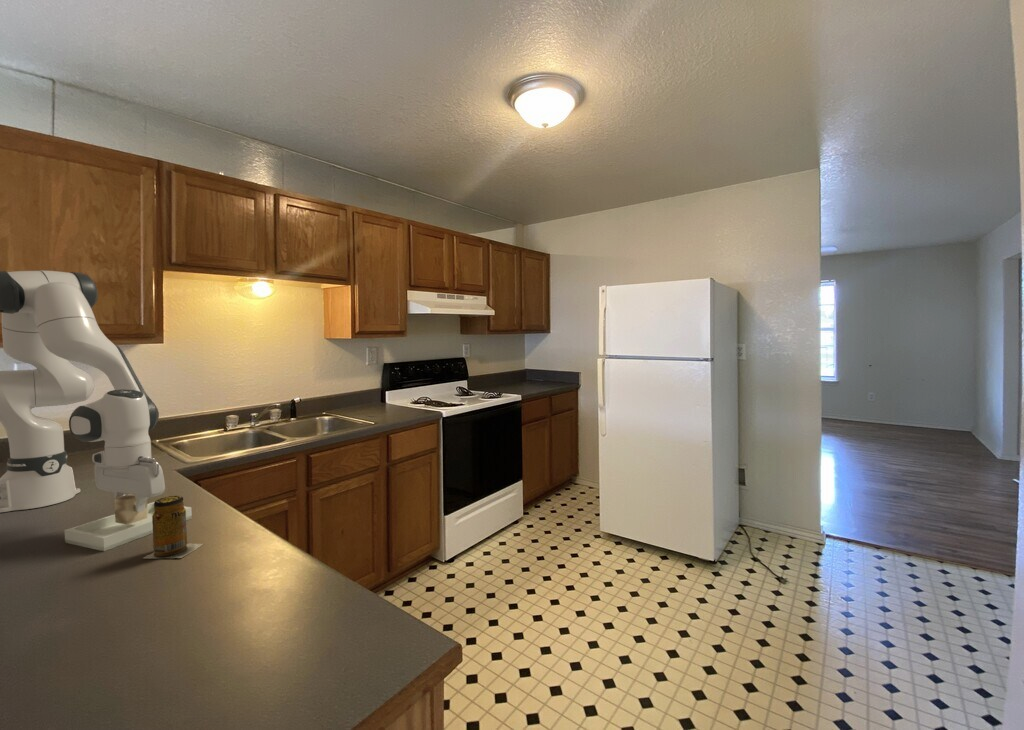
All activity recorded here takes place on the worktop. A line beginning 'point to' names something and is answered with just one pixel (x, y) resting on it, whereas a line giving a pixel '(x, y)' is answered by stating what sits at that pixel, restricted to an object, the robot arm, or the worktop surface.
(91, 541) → the shallow rimmed tray
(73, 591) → the worktop surface
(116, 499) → the birch block
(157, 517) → the condiment
